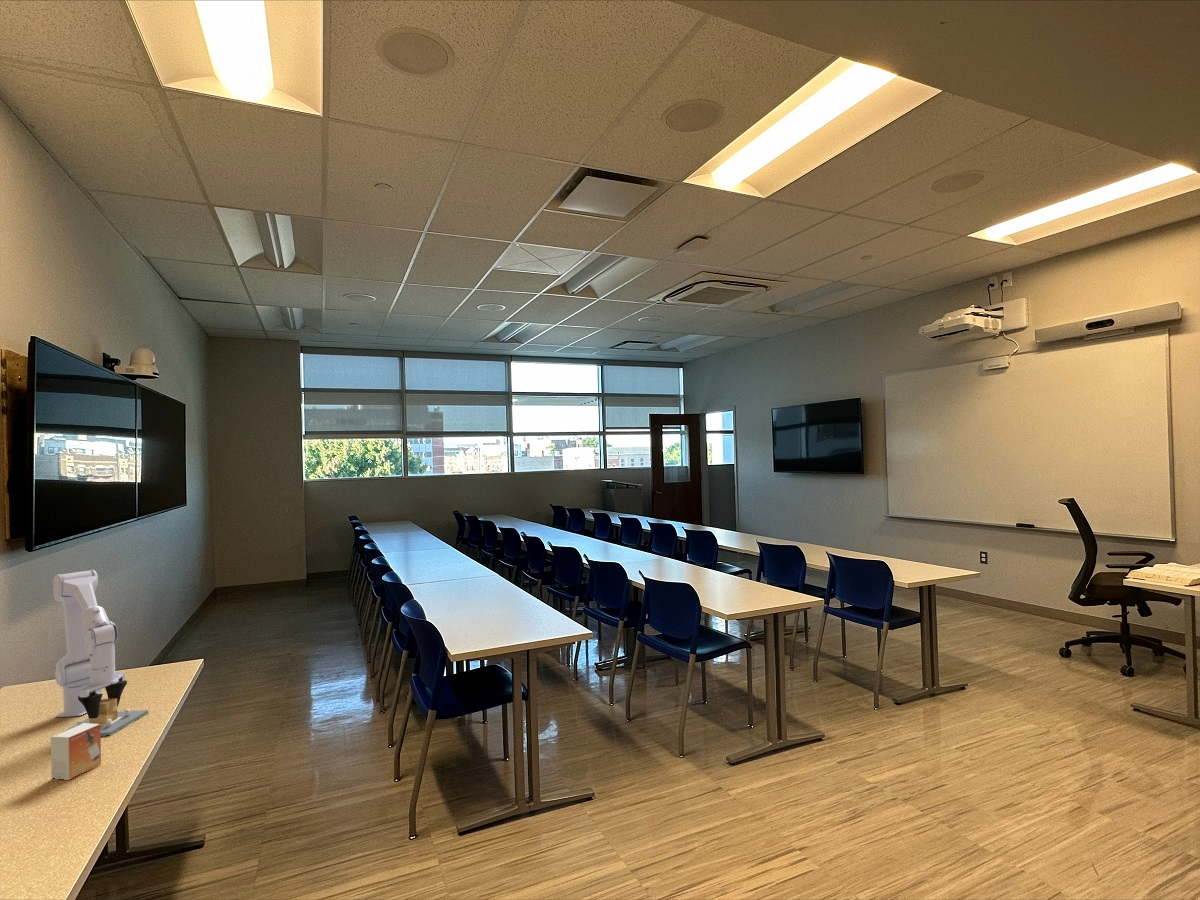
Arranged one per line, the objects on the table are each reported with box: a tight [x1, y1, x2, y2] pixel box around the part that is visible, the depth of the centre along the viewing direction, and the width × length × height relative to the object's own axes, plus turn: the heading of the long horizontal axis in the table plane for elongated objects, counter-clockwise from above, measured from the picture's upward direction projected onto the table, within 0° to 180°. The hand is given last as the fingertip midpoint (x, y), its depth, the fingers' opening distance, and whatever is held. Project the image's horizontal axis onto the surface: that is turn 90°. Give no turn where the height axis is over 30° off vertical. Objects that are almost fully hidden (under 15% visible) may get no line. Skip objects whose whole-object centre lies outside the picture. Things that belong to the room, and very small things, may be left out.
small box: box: [50, 723, 102, 781], centre depth 150 cm, size 8×6×10 cm
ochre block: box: [89, 698, 118, 725], centre depth 177 cm, size 4×5×6 cm
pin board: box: [58, 708, 149, 737], centre depth 177 cm, size 15×15×3 cm
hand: (103, 712), depth 177 cm, fingers open, 7 cm apart
